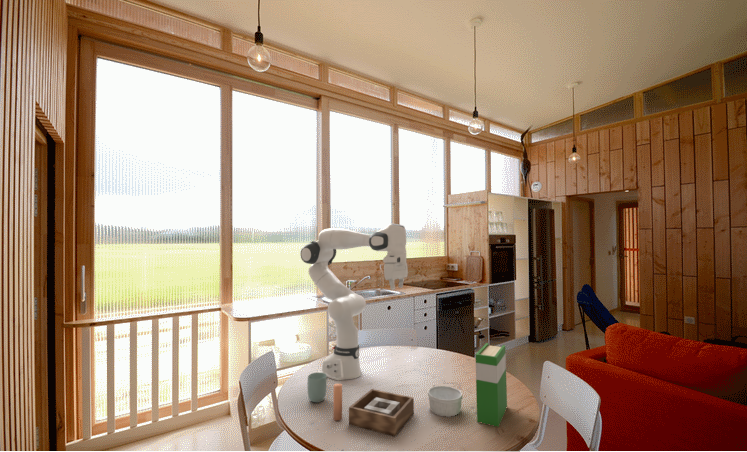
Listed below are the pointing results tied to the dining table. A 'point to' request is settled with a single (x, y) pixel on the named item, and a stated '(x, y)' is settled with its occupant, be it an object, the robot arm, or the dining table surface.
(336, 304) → the robot arm
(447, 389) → the ramekin
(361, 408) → the box
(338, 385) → the peg
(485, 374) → the hardback book
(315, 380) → the cup
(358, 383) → the dining table surface
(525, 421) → the dining table surface
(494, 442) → the dining table surface
